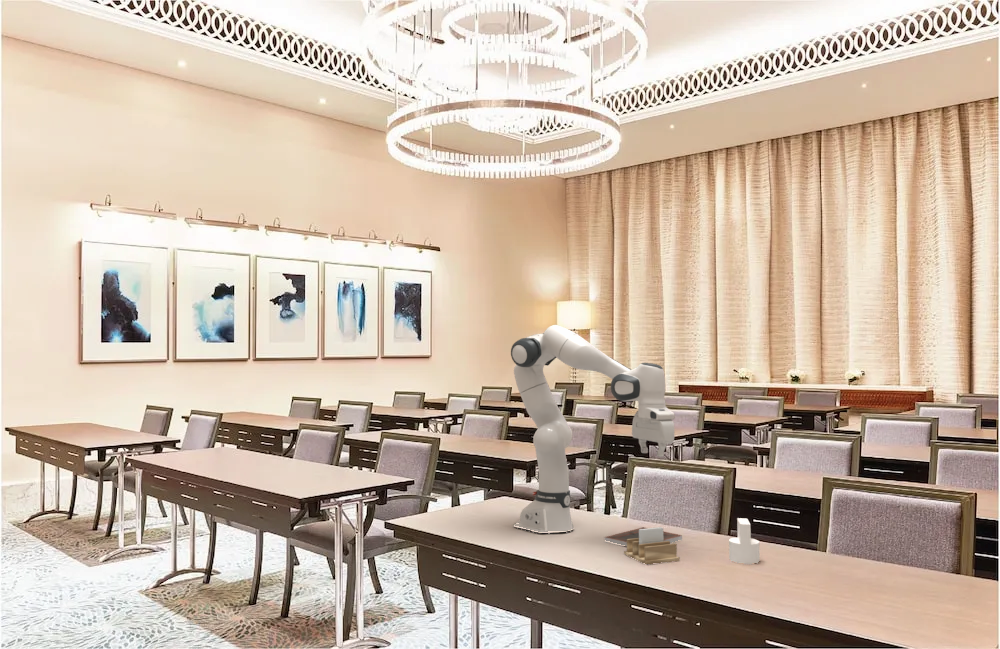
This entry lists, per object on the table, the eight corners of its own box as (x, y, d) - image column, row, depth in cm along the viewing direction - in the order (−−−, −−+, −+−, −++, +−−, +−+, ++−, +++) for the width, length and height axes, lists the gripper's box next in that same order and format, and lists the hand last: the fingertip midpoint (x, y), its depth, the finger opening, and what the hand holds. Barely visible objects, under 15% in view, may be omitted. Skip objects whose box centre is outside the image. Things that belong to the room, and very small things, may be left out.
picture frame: (643, 553, 246) (682, 541, 260) (643, 545, 246) (682, 534, 261) (604, 543, 258) (643, 533, 273) (604, 536, 258) (643, 526, 273)
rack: (624, 554, 241) (623, 538, 242) (656, 550, 246) (656, 535, 246) (646, 564, 229) (646, 548, 230) (679, 560, 234) (679, 544, 234)
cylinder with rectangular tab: (761, 565, 229) (760, 525, 230) (730, 563, 231) (730, 523, 231) (757, 557, 238) (757, 518, 238) (727, 556, 240) (727, 517, 240)
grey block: (639, 555, 237) (638, 529, 237) (660, 552, 240) (660, 527, 240) (641, 556, 236) (641, 530, 236) (663, 553, 239) (663, 528, 239)
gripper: (627, 410, 257) (627, 451, 257) (660, 414, 238) (661, 459, 238) (643, 410, 260) (643, 450, 259) (677, 414, 241) (678, 458, 240)
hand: (652, 454), depth 248 cm, fingers open, 8 cm apart
